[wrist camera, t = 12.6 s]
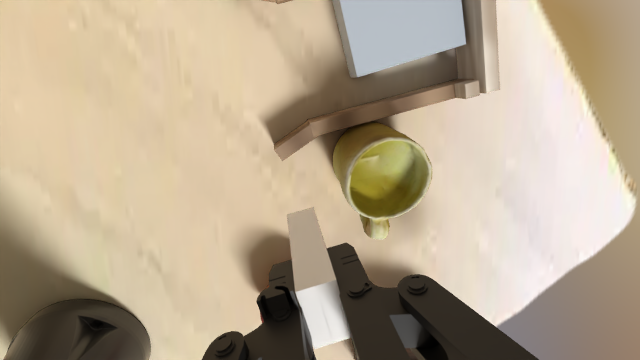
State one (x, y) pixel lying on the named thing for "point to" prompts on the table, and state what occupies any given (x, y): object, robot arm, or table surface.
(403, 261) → the table surface
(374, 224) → the mug
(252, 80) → the table surface
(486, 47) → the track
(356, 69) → the pale blue block
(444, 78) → the table surface
